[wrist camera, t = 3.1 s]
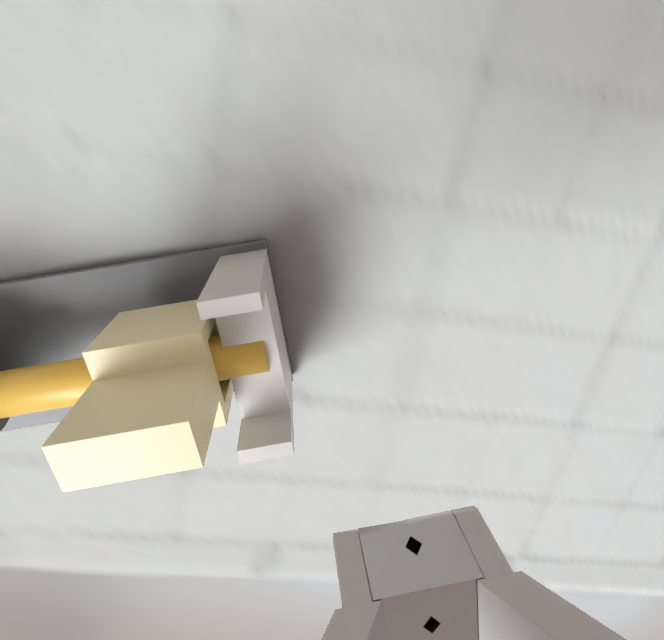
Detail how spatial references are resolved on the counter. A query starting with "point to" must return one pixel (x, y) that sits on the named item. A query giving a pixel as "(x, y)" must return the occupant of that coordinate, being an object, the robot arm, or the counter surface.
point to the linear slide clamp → (143, 292)
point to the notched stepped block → (142, 400)
